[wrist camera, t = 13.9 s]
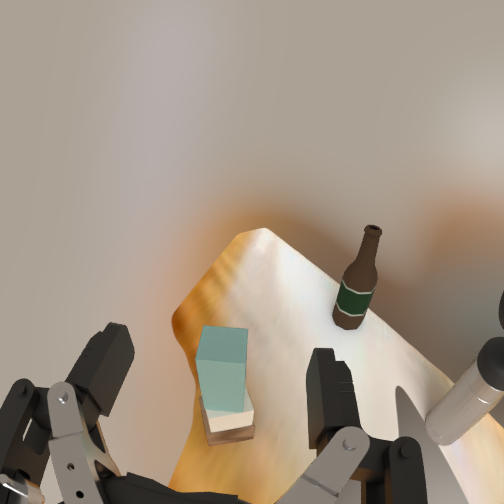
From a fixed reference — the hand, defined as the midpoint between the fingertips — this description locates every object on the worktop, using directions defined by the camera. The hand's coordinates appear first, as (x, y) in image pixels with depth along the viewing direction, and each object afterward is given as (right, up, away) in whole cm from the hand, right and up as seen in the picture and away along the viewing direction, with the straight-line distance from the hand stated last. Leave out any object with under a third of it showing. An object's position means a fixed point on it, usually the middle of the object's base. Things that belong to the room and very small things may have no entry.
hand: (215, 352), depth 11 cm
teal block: (-2, -15, +22) cm, 27 cm away
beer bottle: (+24, -12, +51) cm, 58 cm away
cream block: (-2, -19, +25) cm, 32 cm away
